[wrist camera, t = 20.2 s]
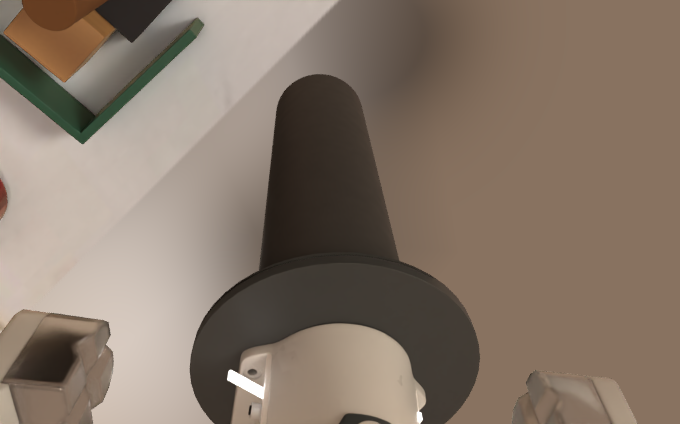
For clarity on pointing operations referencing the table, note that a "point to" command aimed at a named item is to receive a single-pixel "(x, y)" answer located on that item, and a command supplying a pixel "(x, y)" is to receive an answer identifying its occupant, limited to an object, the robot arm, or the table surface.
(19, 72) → the frame
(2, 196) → the soda can
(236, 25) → the table surface
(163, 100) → the table surface
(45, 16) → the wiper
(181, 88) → the table surface
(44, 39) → the cork block
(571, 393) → the robot arm
